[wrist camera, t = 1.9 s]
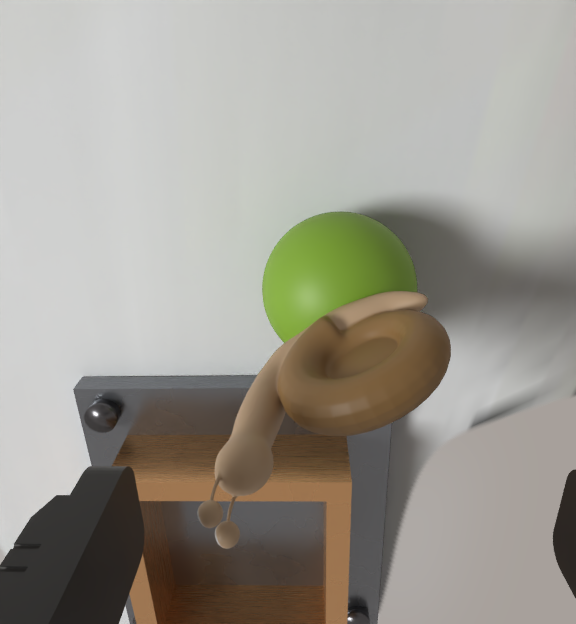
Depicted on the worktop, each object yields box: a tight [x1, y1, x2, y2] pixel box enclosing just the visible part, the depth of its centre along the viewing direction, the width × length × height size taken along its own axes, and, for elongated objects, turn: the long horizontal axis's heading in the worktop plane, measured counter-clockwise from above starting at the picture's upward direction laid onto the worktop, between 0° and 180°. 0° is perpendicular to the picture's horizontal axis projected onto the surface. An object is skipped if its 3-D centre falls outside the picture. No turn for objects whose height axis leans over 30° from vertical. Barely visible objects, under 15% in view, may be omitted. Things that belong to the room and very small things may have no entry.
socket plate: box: [73, 376, 392, 624], centre depth 24 cm, size 16×14×4 cm
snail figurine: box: [197, 212, 451, 549], centre depth 15 cm, size 5×6×12 cm
